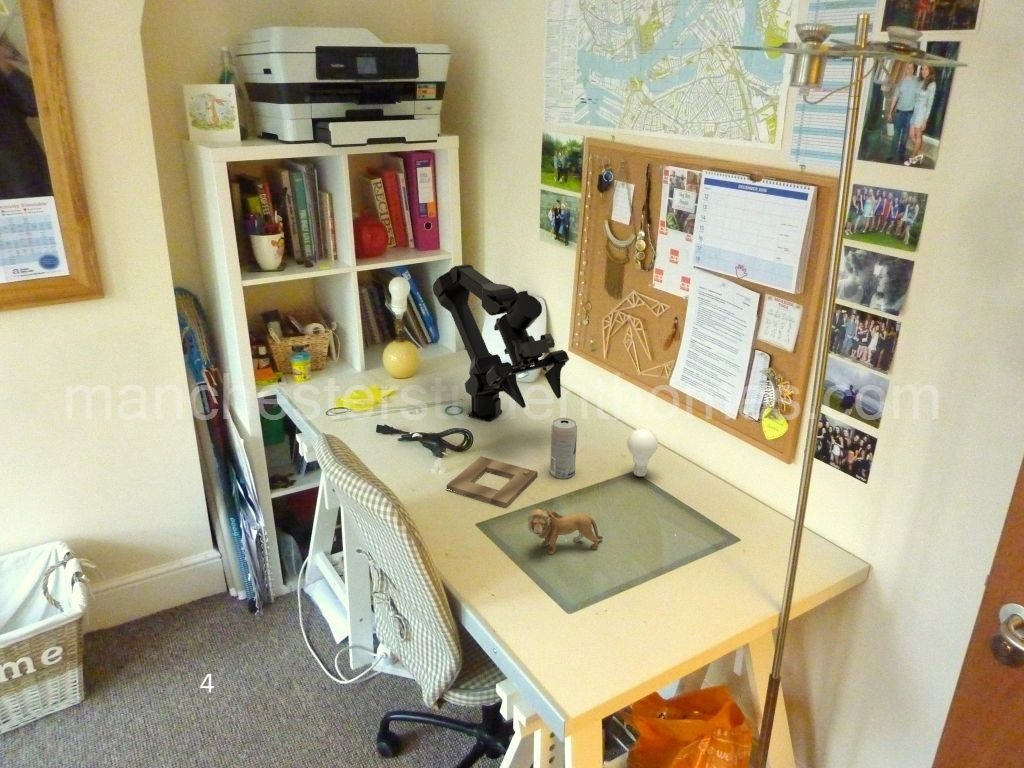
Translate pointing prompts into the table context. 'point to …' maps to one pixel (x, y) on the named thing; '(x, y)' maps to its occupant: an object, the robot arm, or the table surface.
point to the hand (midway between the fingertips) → (542, 402)
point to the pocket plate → (497, 497)
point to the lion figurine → (561, 527)
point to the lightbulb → (642, 449)
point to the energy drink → (563, 448)
